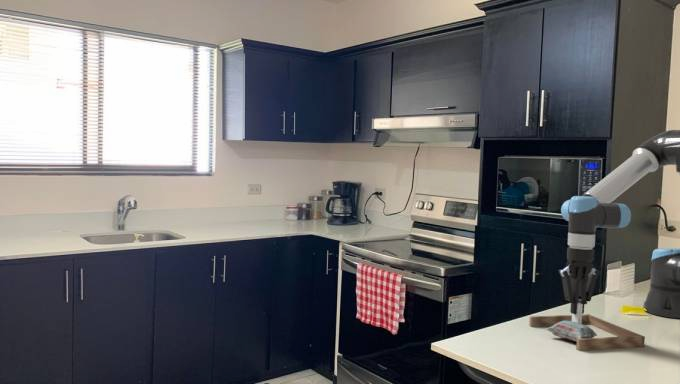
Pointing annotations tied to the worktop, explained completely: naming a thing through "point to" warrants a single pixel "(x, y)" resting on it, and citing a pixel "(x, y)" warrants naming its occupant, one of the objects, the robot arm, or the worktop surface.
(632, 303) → the worktop surface
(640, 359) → the worktop surface
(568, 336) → the packaged food
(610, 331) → the wooden frame
